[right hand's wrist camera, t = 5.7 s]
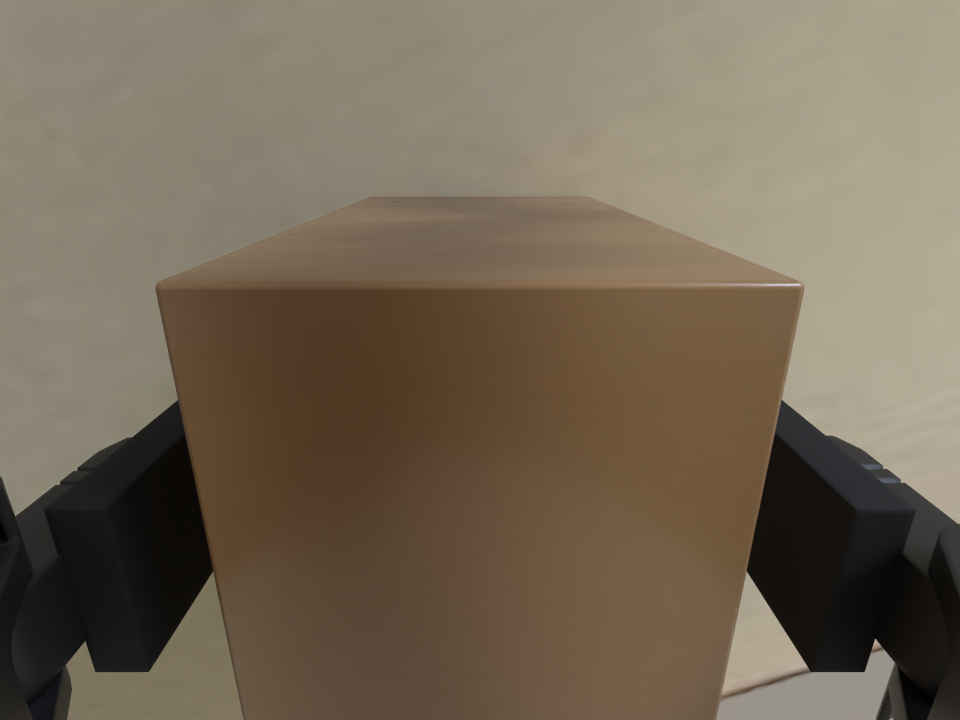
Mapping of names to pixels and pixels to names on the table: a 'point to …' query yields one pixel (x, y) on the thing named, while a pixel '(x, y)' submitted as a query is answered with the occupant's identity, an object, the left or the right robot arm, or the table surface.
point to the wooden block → (479, 457)
